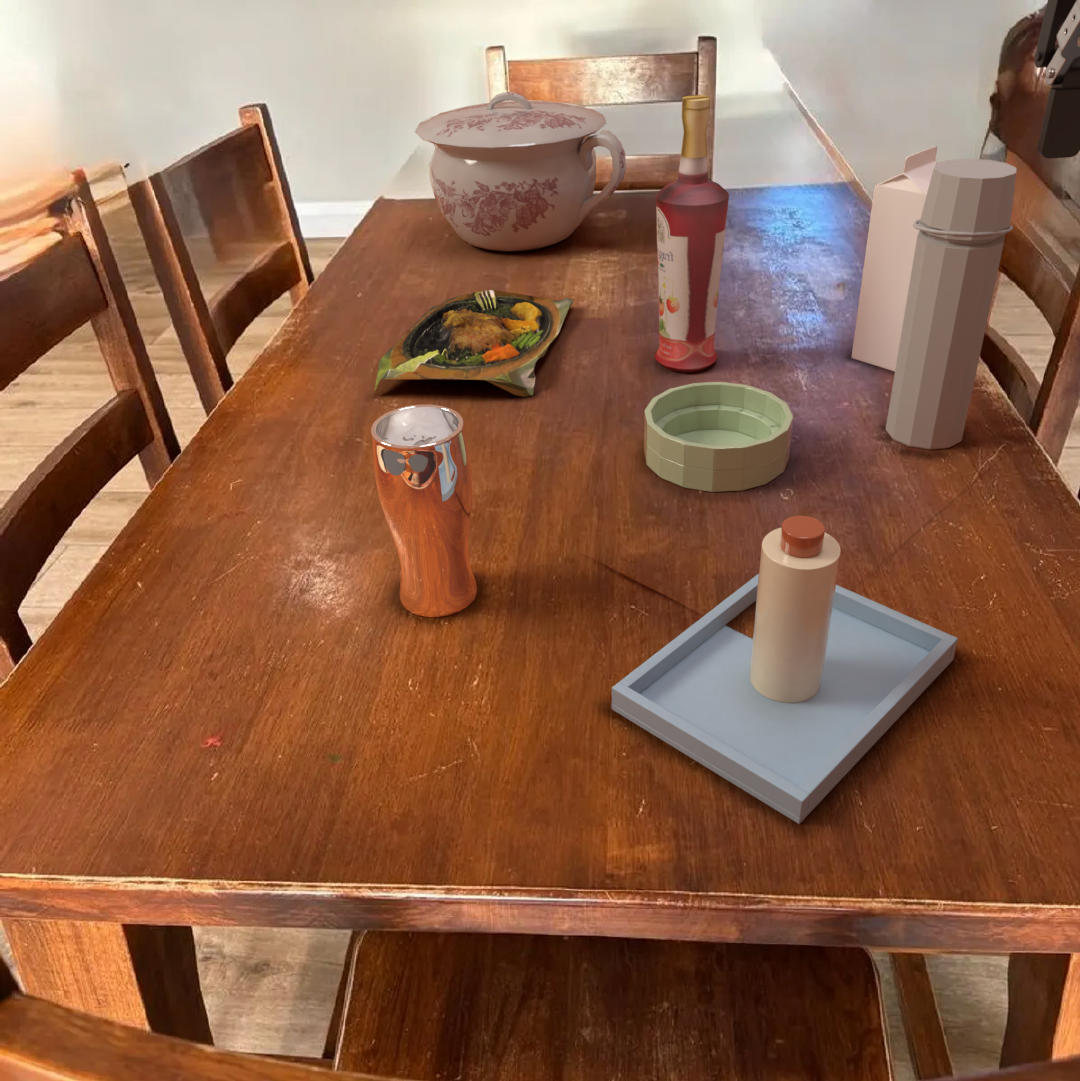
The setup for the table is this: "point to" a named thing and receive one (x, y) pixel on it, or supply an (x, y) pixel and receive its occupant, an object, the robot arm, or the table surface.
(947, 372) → the water bottle
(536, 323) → the prepared meal
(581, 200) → the chamber pot
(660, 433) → the bowl
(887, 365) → the milk
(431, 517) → the beer glass
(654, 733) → the tray
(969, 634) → the table surface
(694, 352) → the liquor
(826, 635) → the bottle
